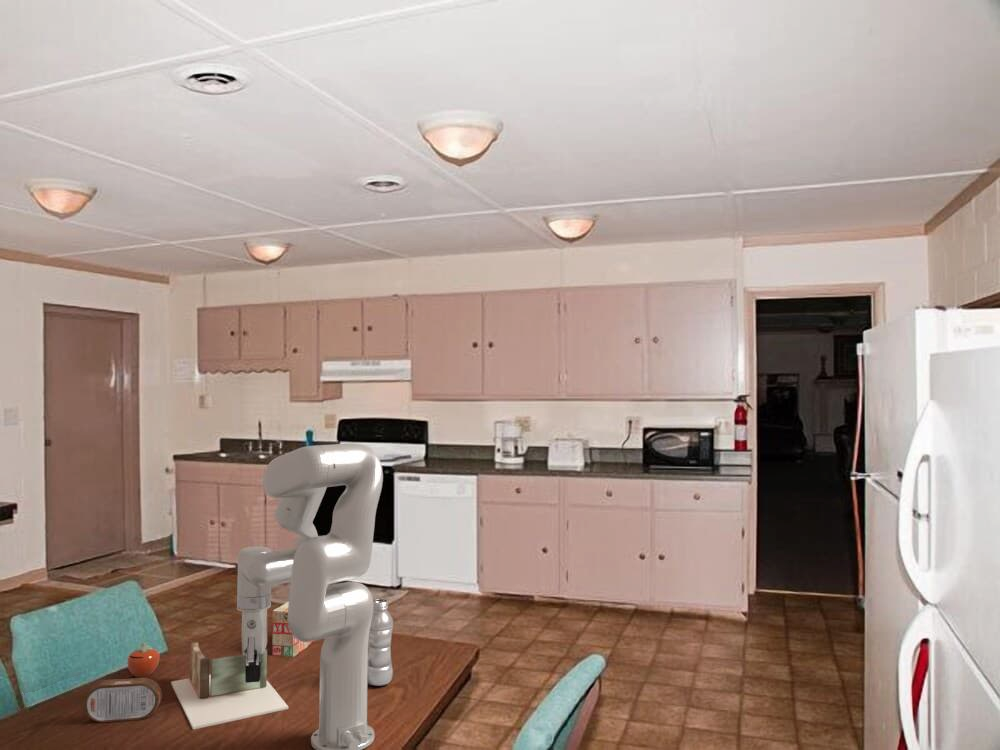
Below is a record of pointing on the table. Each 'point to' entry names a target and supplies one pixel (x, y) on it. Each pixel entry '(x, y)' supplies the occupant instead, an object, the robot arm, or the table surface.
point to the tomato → (143, 661)
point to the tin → (122, 699)
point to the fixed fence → (199, 670)
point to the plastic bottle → (380, 645)
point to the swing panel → (234, 674)
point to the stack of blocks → (284, 635)
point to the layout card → (225, 704)
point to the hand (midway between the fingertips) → (252, 680)
